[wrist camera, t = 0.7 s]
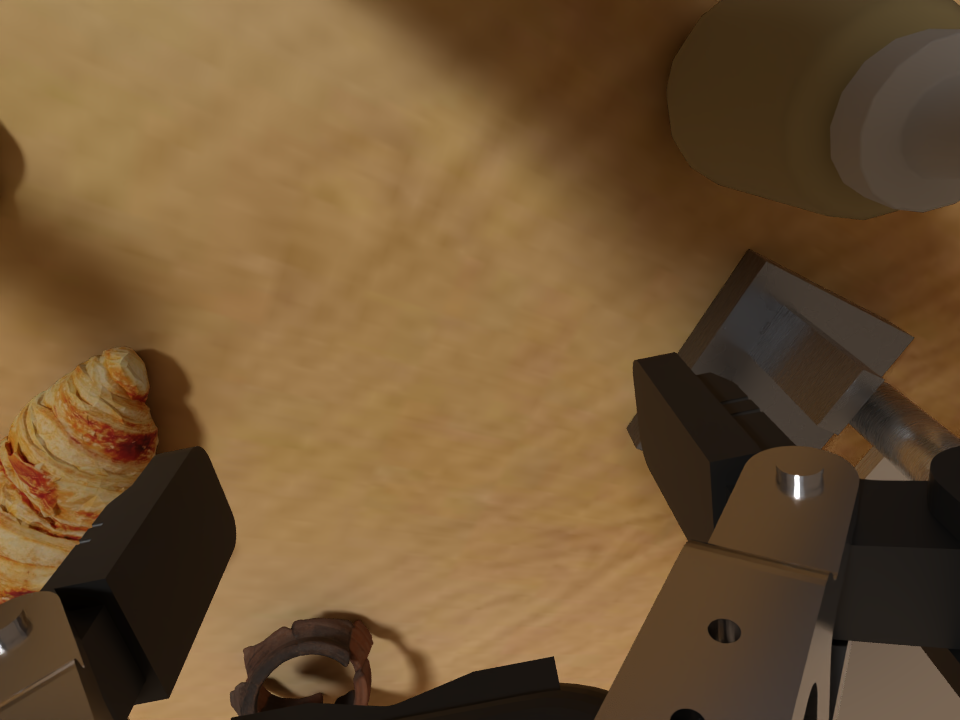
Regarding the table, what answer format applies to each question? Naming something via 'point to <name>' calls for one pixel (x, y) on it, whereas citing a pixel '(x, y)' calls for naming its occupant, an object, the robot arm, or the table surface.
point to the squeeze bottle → (824, 103)
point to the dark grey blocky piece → (898, 437)
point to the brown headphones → (302, 639)
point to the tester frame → (792, 349)
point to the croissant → (70, 464)
